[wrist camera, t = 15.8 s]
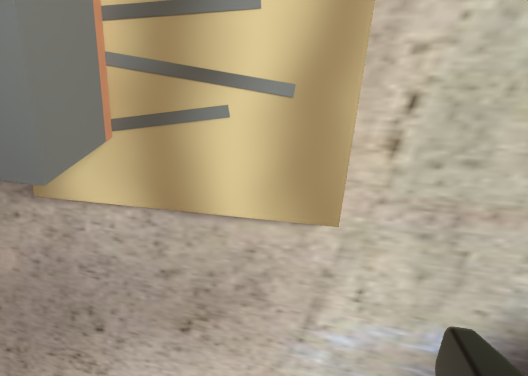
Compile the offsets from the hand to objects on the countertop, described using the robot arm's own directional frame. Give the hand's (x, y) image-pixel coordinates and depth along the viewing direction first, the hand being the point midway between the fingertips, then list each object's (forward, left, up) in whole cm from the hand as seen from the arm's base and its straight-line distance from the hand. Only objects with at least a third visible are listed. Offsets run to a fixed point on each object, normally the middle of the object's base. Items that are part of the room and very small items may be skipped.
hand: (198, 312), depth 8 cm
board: (+3, -3, -12) cm, 13 cm away
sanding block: (+8, -3, -11) cm, 14 cm away
